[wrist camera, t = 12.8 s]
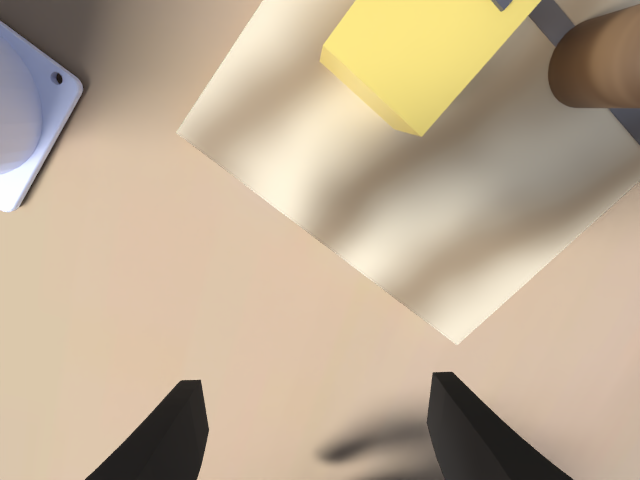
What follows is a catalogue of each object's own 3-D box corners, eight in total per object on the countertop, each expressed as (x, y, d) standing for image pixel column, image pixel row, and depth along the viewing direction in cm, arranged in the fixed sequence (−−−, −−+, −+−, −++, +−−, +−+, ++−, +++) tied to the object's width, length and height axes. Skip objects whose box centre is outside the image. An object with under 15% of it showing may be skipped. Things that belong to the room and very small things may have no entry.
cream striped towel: (184, 131, 18) (175, 133, 16) (490, -331, 13) (510, -378, 11) (449, 333, 22) (457, 346, 21) (752, 54, 17) (786, 50, 16)
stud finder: (319, 61, 16) (323, 43, 11) (434, -95, 14) (489, -185, 10) (394, 129, 17) (423, 137, 12) (509, -7, 15) (589, -53, 11)
